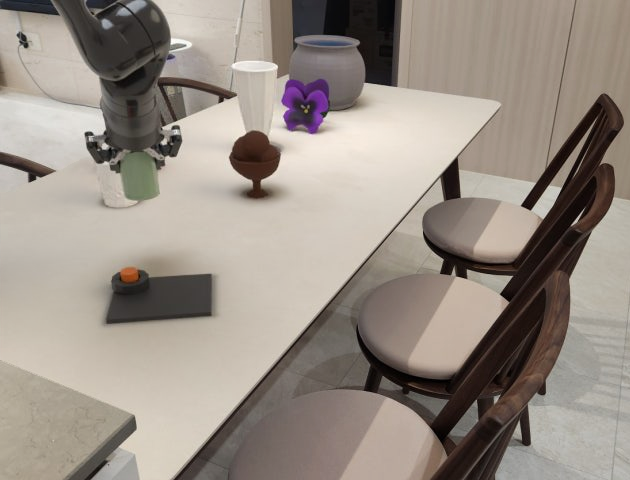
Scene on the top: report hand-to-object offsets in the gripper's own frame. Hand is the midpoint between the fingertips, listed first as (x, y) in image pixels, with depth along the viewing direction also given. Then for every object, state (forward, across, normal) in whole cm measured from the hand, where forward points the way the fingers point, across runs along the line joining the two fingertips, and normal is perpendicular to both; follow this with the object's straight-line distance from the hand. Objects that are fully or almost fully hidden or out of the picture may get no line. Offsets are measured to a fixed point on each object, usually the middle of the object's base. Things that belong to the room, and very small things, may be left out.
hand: (137, 166), depth 104 cm
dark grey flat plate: (+2, 0, +23) cm, 23 cm away
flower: (+63, -51, -38) cm, 89 cm away
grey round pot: (+79, -65, -55) cm, 116 cm away
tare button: (+3, +4, +18) cm, 19 cm away
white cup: (+31, +3, -7) cm, 32 cm away
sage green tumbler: (+2, 0, +4) cm, 5 cm away
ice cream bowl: (+29, -24, -4) cm, 38 cm away
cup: (+50, -32, -25) cm, 65 cm away
